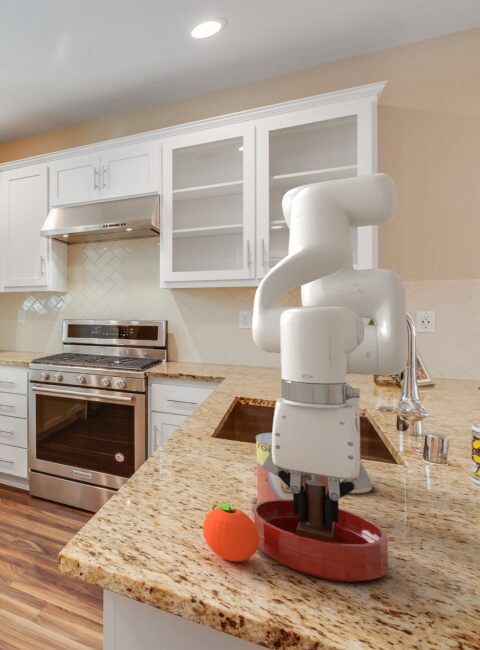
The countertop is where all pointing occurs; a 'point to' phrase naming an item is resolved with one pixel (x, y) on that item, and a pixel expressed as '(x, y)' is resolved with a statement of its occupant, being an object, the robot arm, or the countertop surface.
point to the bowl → (322, 544)
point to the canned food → (270, 483)
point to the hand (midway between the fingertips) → (315, 521)
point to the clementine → (230, 533)
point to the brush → (315, 514)
